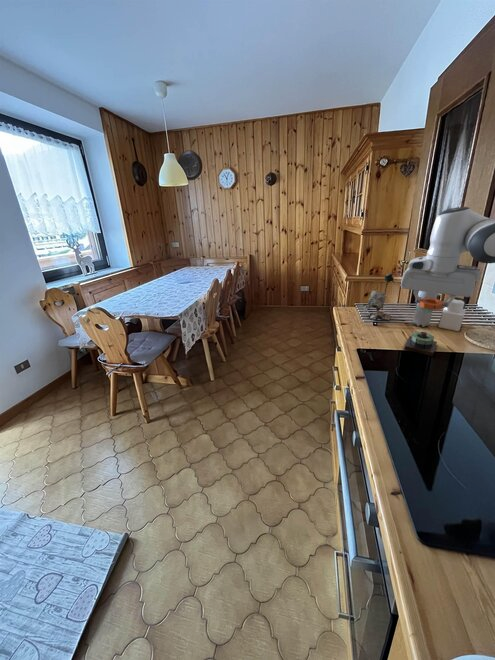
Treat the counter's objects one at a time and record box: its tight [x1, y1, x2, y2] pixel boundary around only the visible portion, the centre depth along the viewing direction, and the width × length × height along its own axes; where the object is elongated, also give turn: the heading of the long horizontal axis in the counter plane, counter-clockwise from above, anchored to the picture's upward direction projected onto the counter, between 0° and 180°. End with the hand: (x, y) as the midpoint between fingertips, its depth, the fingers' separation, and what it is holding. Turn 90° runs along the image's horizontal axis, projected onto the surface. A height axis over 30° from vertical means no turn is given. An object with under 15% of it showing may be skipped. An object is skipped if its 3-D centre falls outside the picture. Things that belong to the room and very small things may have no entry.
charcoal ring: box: [410, 339, 433, 349], centre depth 103 cm, size 7×7×2 cm
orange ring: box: [419, 298, 445, 311], centre depth 95 cm, size 7×7×2 cm
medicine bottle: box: [438, 296, 467, 332], centre depth 114 cm, size 7×7×12 cm
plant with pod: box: [363, 272, 395, 321], centre depth 124 cm, size 8×11×20 cm
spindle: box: [403, 331, 438, 357], centre depth 102 cm, size 9×9×6 cm
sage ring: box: [411, 331, 435, 345], centre depth 102 cm, size 7×7×2 cm
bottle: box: [412, 291, 439, 328], centre depth 115 cm, size 7×7×20 cm
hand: (431, 304), depth 95 cm, fingers closed on orange ring, 7 cm apart
